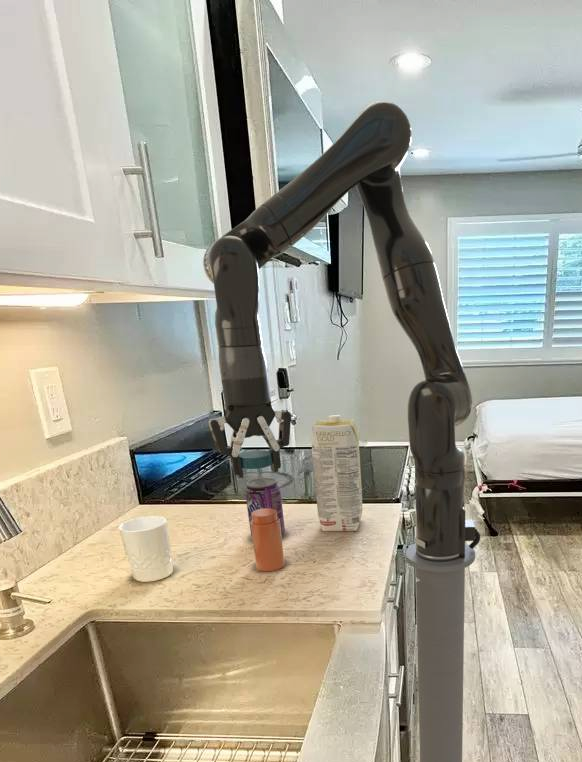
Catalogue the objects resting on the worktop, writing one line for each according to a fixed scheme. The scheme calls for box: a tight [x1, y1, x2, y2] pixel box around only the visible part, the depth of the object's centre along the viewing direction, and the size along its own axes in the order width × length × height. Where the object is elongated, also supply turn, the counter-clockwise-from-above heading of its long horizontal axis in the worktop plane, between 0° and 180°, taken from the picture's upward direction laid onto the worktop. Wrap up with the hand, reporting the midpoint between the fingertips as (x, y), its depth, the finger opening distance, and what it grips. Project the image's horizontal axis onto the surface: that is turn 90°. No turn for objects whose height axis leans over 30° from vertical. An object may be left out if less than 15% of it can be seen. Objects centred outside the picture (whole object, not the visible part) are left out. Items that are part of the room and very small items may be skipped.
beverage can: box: [244, 477, 286, 537], centre depth 119 cm, size 7×7×12 cm
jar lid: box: [239, 449, 273, 470], centre depth 99 cm, size 6×6×2 cm
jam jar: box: [249, 508, 286, 572], centre depth 105 cm, size 5×5×11 cm
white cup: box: [118, 515, 174, 583], centre depth 103 cm, size 8×8×10 cm
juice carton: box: [311, 414, 363, 532], centre depth 120 cm, size 9×8×24 cm
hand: (257, 473), depth 100 cm, fingers closed on jar lid, 5 cm apart
